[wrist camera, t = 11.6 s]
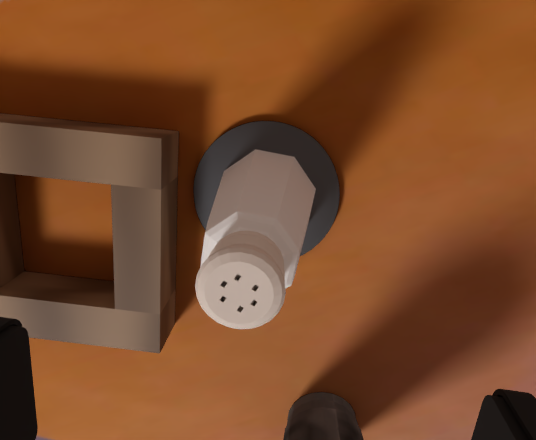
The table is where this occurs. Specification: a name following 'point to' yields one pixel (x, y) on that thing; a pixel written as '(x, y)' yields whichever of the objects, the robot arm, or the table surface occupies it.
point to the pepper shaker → (254, 239)
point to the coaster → (281, 142)
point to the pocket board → (123, 223)
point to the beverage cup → (322, 419)
